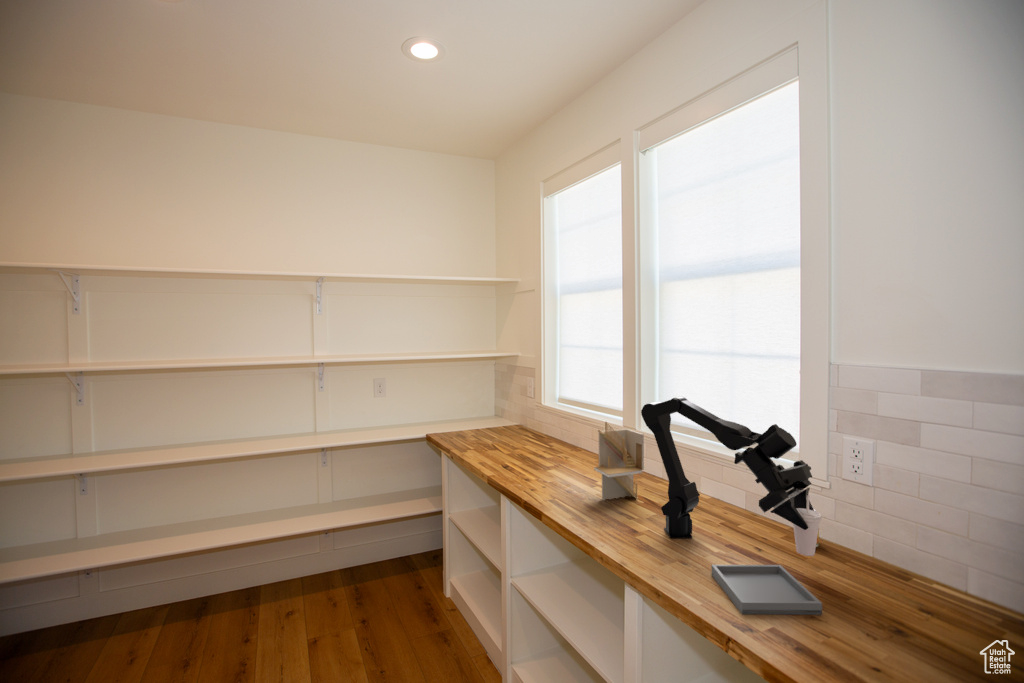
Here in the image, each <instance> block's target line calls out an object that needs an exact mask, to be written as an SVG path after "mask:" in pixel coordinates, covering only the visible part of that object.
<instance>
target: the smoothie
mask: <svg viewBox="0 0 1024 683" xmlns="http://www.w3.org/2000/svg"><path fill="white" fill-rule="evenodd" d="M809 501H810V495H809V494H808V495H807V503H806V509H804V508H796V509H797V511H798V512H799V514H800V515H801V516H802V518H803V519H804V521H805V522H806V524H807V525H808V527H809V528H808V529H806V530H804V529H802V528H800V527H799V526H797V525H795V524H793V523H792V525H793V533H794V534H793V535H794V541H795V549H796V553H798V554H799V555H802V556H806V557H814V556H815V555H816V554H815V553H816V548H817V547H816V542H817V536H818V530H819V531H820V523H821V521H822V514H821V513H820V512H818V511H817V510H816V511H813V510H810V509H809Z"/></svg>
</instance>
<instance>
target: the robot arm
mask: <svg viewBox="0 0 1024 683" xmlns="http://www.w3.org/2000/svg"><path fill="white" fill-rule="evenodd" d="M640 413H641V414H640V415H641V416H642V419H643V422H644V423H645V425H646V427H647V428H648V429H649V430H650V432H652V434H653V436H654V439H655V442H656V444H657V445H656V446H657V448H658V451H659V454H660V457H661V460H662V464H663V468H664V470H665V473H666V476H667V479H668V488H667V495H668V502H666V503H665V504H663V505H662V506H661V512H662V515H663V516H665V527H664V528H663V530H664V532H665V533H666V535H667V536H668V537H669V538H670V539H693V535H692V534H693V520H692V518H691V514H690V513H692V512H694V509H695V508H696V507H697V506H698V505H699V503H700V495H701V494H700V492H699V491H698V489H697V488H698V487H697V484H696V482H695V481H691V482H690V480H689V479H688V478H687V477H686V475H685V471H684V468H683V466H682V462H681V459H680V457H679V453H678V450H677V447H676V443H675V441H674V438H673V435H672V431H671V421H672V417H671V415H672V414H675V413H678V414H679V415H681V416H683V417H685V418H687V419H689V420H690V421H692V422H693V423H695V424H697V425H698V426H700V427H702V428H703V429H705V430H707V431H709V432H710V433H711V434H713V435H714V437H715V438H716V439H717V441H718V442H720V443H721V444H722V445H723V446H725V447H726V448H727V449H729V450H731V451H738V450H741V449H744V448H746V449H745V450H743V451H742V452H739V451H738V452H735V453H734V462H733V464H735V465H737V464H740V463H741V464H742V462H743V464H745V465H746V467H747V468H749V470H750V471H751V473H752V474H753V475H754V477H755V478H756V479H755V480H754V481H755V482H756V484H760V483H761V485H762V486H763V488H765V489H766V491H767V492H768V493H767V494H766V495H765V496H764V497H762V498H761V499H759V500H758V507H759V509H761V511H762V513H764V514H765V513H767V512H768V511H770V513H771V514H775V515H776V516H779V517H781V518H782V519H785V520H787V521H788V522H790V523H791V524H792V525H793V524H795V525H797V526H799V527H800V528H802V529H804V530H806V529H808V528H809V527H808V525H807V524H806V522H805V521H804V519H803V518H802V516H801V515H800V514H799V512H798V511H797V509H796V508H804V509H806V503H807V495H809V493H810V492H809V491H810V487H809V486H810V485H812V482H811V481H810V480H809V479H810V478H813V475H812V473H811V470H812V467H811V466H809V465H808V463H806V462H805V461H804V460H803V459H802V460H797V461H794V462H793V466H790V467H787V468H785V467H784V465H781V464H776V463H775V461H773V459H776V460H778V459H780V458H781V457H783V456H784V455H785V454H786V453H788V452H789V451H791V450H792V449H794V448H795V447H797V441H796V439H795V437H794V436H793V435H792V434H791V433H790V432H788V431H787V430H785V429H784V428H782V427H779V425H777V423H774V424H772V425H770V427H768V429H767V430H765V432H762V433H758V432H755V431H752V430H751V429H750V428H749V427H748V426H745V425H744V424H740V423H737V422H734V421H730V420H726V419H723V418H721V417H719V416H718V415H715V414H713V413H711V412H709V410H706V409H705V408H702V407H701V406H700V405H697V404H696V403H693V402H691V401H690V400H688V399H687V398H686V397H683V396H677V397H673V398H671V399H669V400H665V401H655V402H651V403H650V402H649V403H646V404H644V405H643V406H642V407H641V410H640ZM756 444H757V445H756ZM754 445H756V446H755V447H750V446H754ZM772 458H773V459H772ZM809 509H810V510H813V511H814V509H815V508H814V507H813V505H812V503H811V501H810V500H809Z"/></svg>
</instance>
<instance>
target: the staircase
mask: <svg viewBox="0 0 1024 683" xmlns="http://www.w3.org/2000/svg"><path fill="white" fill-rule="evenodd" d="M604 424H605V425H604V430H602V431H601V430H600V429H599V430H597V432H598V466H594V469H593V470H594V471H596V472H597V473H599V474H601V500H602V501H606V500H605V499H609V500H613V499H612V498H616V499H620V498H619V497H622V498H626V497H625V496H629V497H633V498H634V499H635V500H636V499H637V500H639V497H638V483H636V482H634V475H636V474H638V475H639V474H642V473H643V471H644V470H645V469H644V468H645V466H644V464H645V462H644V461H645V460H644V457H645V454H644V451H645V450H644V449H645V448H644V447H645V446H644V445H645V444H644V443H645V442H644V439H645V438H644V433H641V432H637V431H635V430H631V429H628V428H624V429H623V428H622V429H614V428H613V427H612V426H609V423H608V422H607V421H605V423H604Z"/></svg>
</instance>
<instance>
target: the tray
mask: <svg viewBox="0 0 1024 683" xmlns="http://www.w3.org/2000/svg"><path fill="white" fill-rule="evenodd" d="M710 575H711V577H713V579H714V580H715V582H716V583H717V584H718V585H719V586H720V587H721V589H722V590H723V592H724V593H725V594H726V596H727V597H728V598H729V600H730V601H731V603H733V605H734V606H735V607H736V609H737V610H738V611H739V613H740V614H741V615H765V616H766V615H771V616H772V615H776V616H777V615H780V616H781V615H782V616H783V615H785V616H787V615H788V616H790V615H791V616H793V615H795V616H796V615H797V616H798V615H799V616H811V615H812V616H823V602H822V601H820V599H818V598H817V597H816V596H815V595H814V594H813V593H812V592H811V591H809V589H807V588H806V587H805V586H804V585H803V584H802V583H801V582H800V581H798V580H797V579H796V578H795V577H794V576H793V575H792V574H791V573H789V571H788V570H786V568H784V567H783V566H782V565H781V564H711V574H710Z"/></svg>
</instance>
